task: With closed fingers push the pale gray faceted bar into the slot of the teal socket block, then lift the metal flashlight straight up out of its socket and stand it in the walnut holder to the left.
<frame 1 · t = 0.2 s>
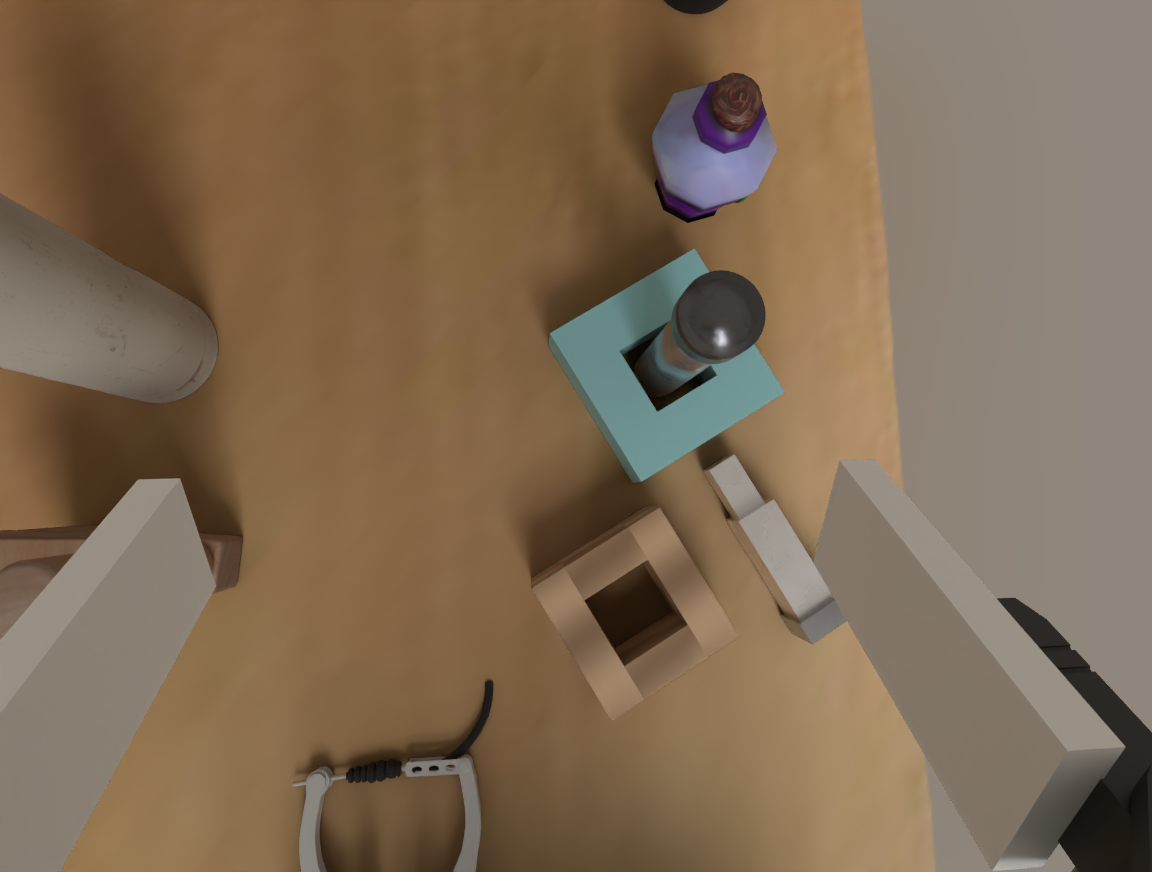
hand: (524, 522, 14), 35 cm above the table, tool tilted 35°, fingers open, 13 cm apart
bike brake: (398, 829, 47), on the table
pale gray faceted bar: (771, 543, 48), point 2 cm above the table, slide at 0.0 cm
potion bottle: (689, 188, 52), on the table
socket block: (657, 373, 50), on the table
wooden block: (164, 555, 47), on the table
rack: (625, 600, 49), on the table
metal flashlight: (683, 349, 42), in the socket block
thermos bottle: (162, 349, 48), on the table
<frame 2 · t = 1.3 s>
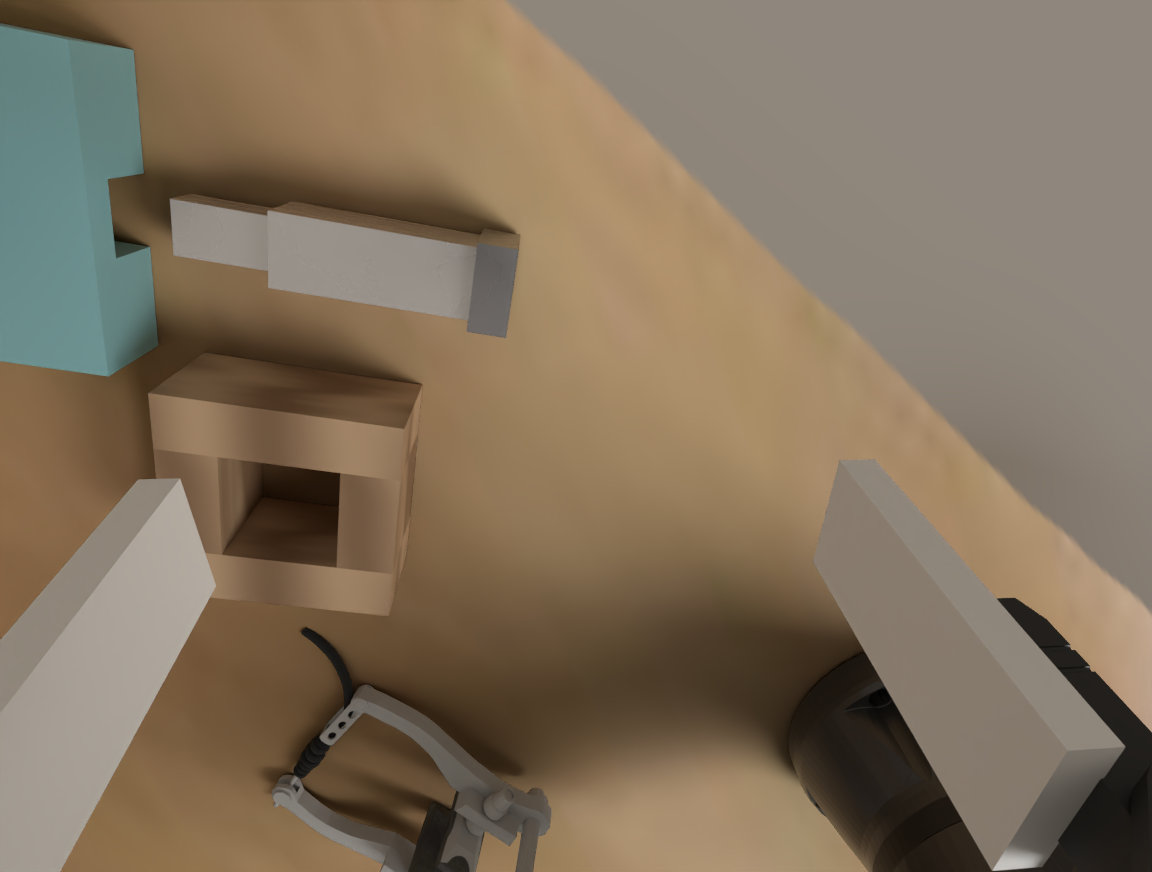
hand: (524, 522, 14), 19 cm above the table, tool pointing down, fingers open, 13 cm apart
bike brake: (389, 756, 44), on the table
pale gray faceted bar: (349, 256, 27), point 2 cm above the table, slide at 0.0 cm
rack: (313, 461, 34), on the table
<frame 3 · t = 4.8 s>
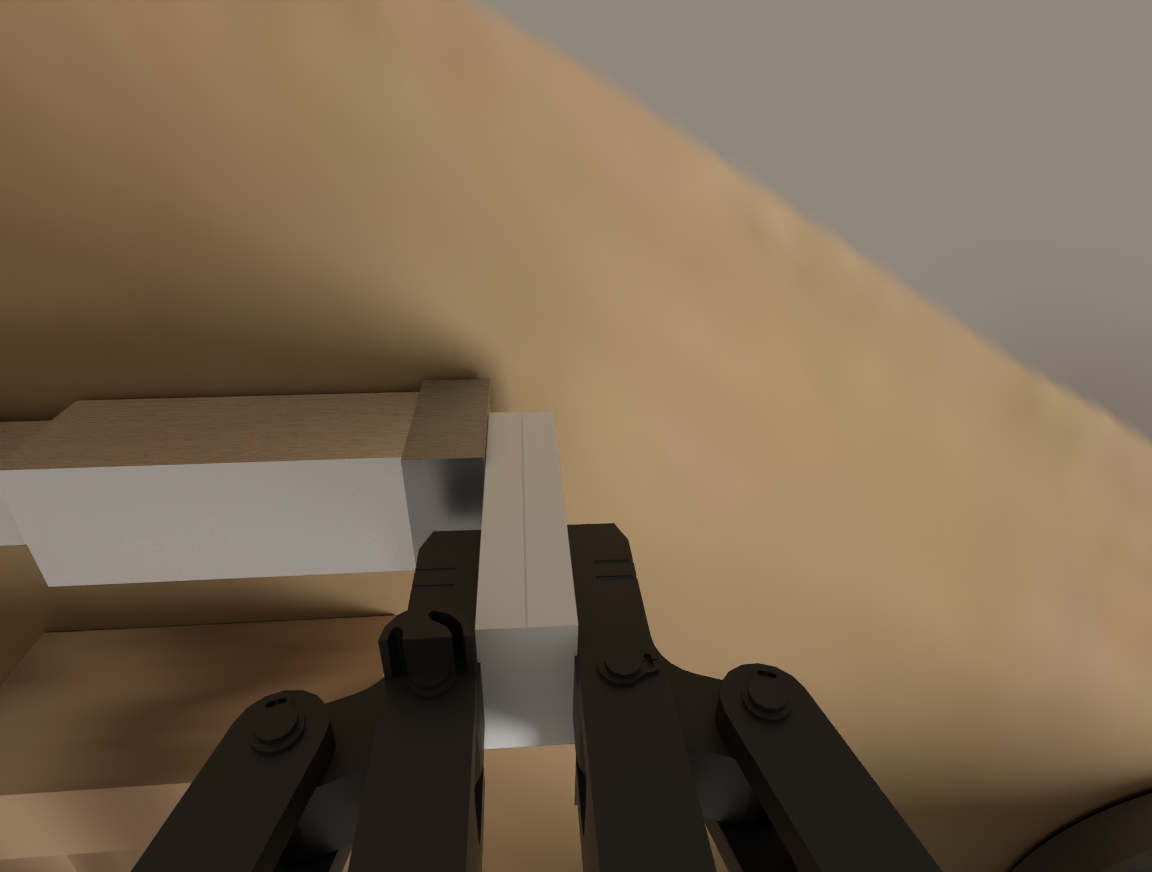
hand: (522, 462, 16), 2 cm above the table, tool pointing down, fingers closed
pale gray faceted bar: (186, 493, 15), point 2 cm above the table, slide at 0.4 cm, touching gripper
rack: (260, 733, 22), on the table
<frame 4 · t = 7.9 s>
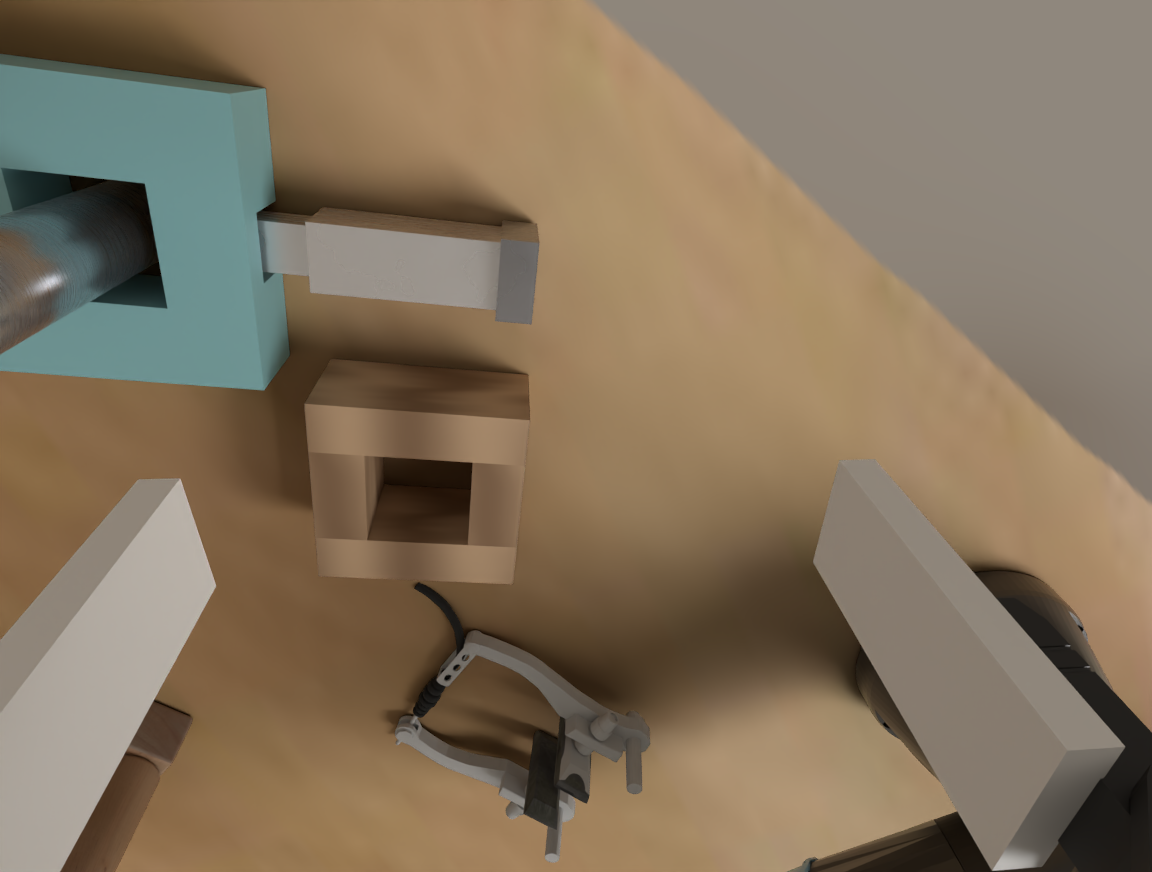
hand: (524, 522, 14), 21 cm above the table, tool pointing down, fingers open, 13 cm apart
bike brake: (495, 693, 48), on the table
pale gray faceted bar: (380, 257, 30), point 2 cm above the table, slide at 3.9 cm
socket block: (138, 220, 30), on the table
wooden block: (135, 743, 47), on the table
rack: (429, 449, 37), on the table
metal flashlight: (15, 275, 23), in the socket block
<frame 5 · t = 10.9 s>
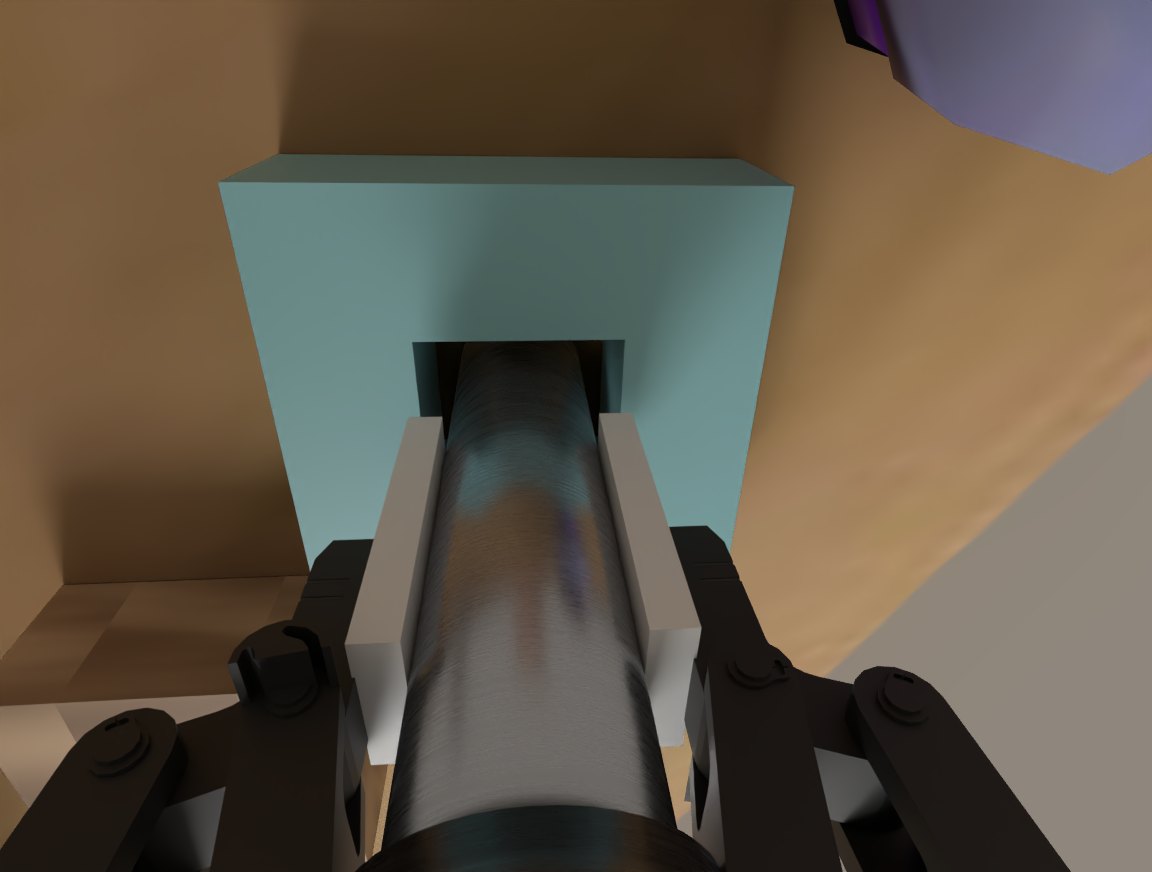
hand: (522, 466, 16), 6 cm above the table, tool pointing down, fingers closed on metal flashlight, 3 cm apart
socket block: (520, 367, 20), on the table
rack: (245, 675, 26), on the table
metal flashlight: (524, 546, 13), in the socket block, touching gripper
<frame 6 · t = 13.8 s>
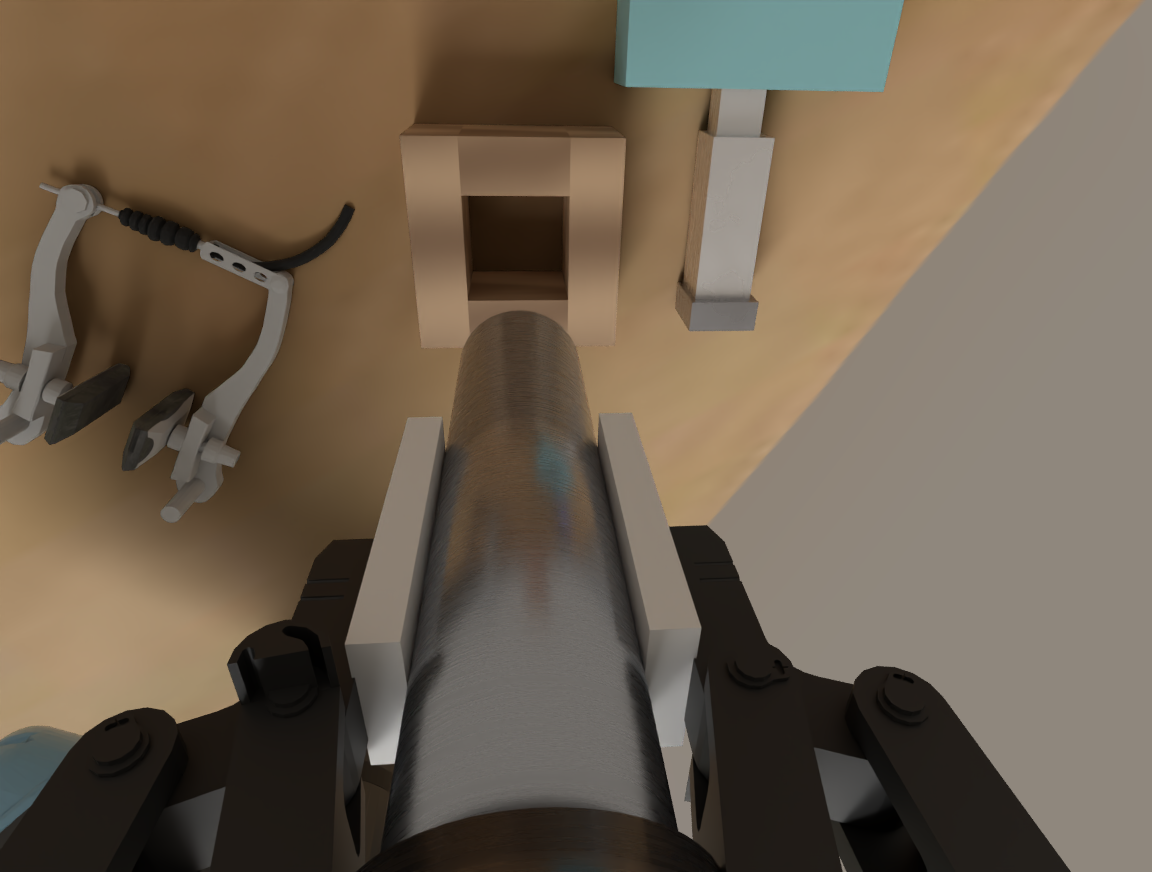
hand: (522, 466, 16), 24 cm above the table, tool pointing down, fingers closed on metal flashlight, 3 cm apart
bike brake: (176, 307, 38), on the table
pale gray faceted bar: (729, 193, 34), point 2 cm above the table, slide at 3.9 cm
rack: (516, 225, 36), on the table
metal flashlight: (524, 547, 13), point 27 cm above the table, touching gripper
when the fingers open (7 cm above the table, at t = 17.1 s): metal flashlight stays where it is, resting in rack.
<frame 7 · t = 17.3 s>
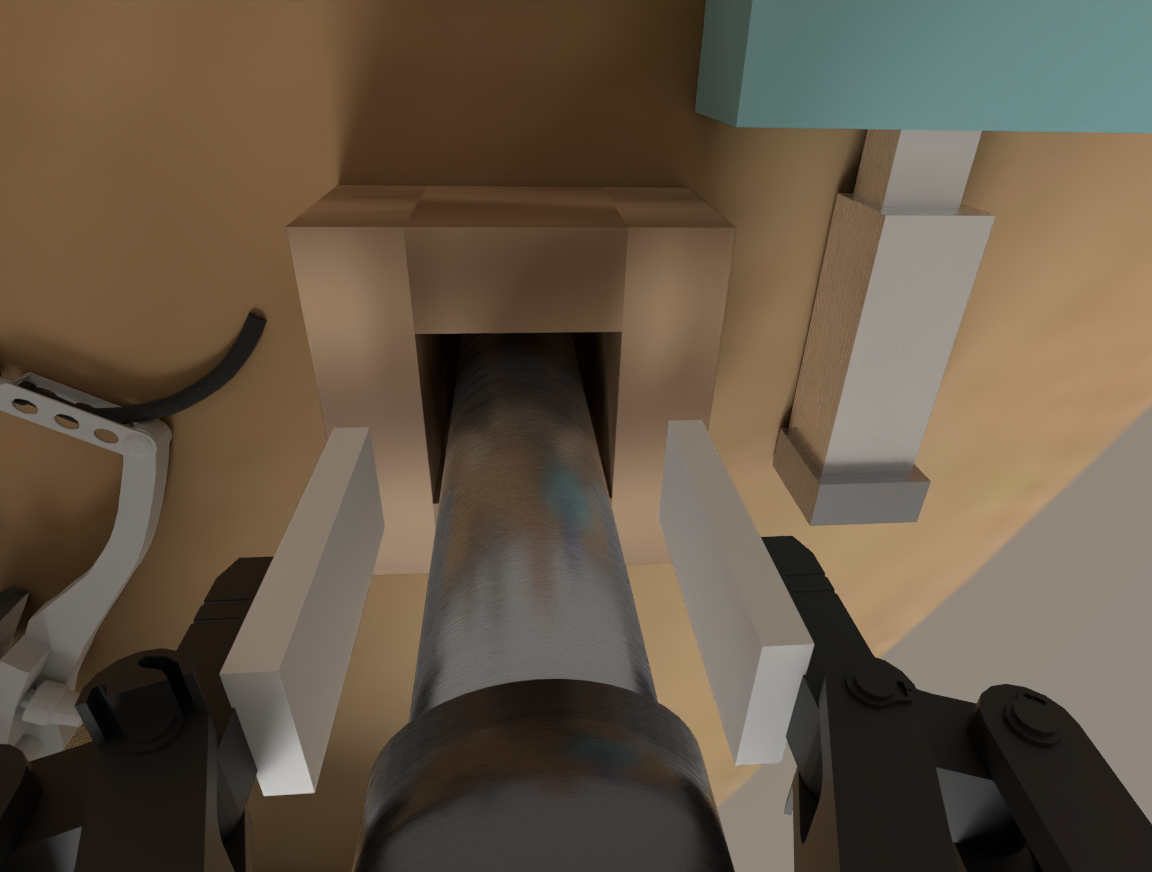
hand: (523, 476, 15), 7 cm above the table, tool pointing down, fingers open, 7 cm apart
pale gray faceted bar: (890, 303, 20), point 2 cm above the table, slide at 3.9 cm
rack: (519, 347, 22), on the table
metal flashlight: (524, 502, 14), in the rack
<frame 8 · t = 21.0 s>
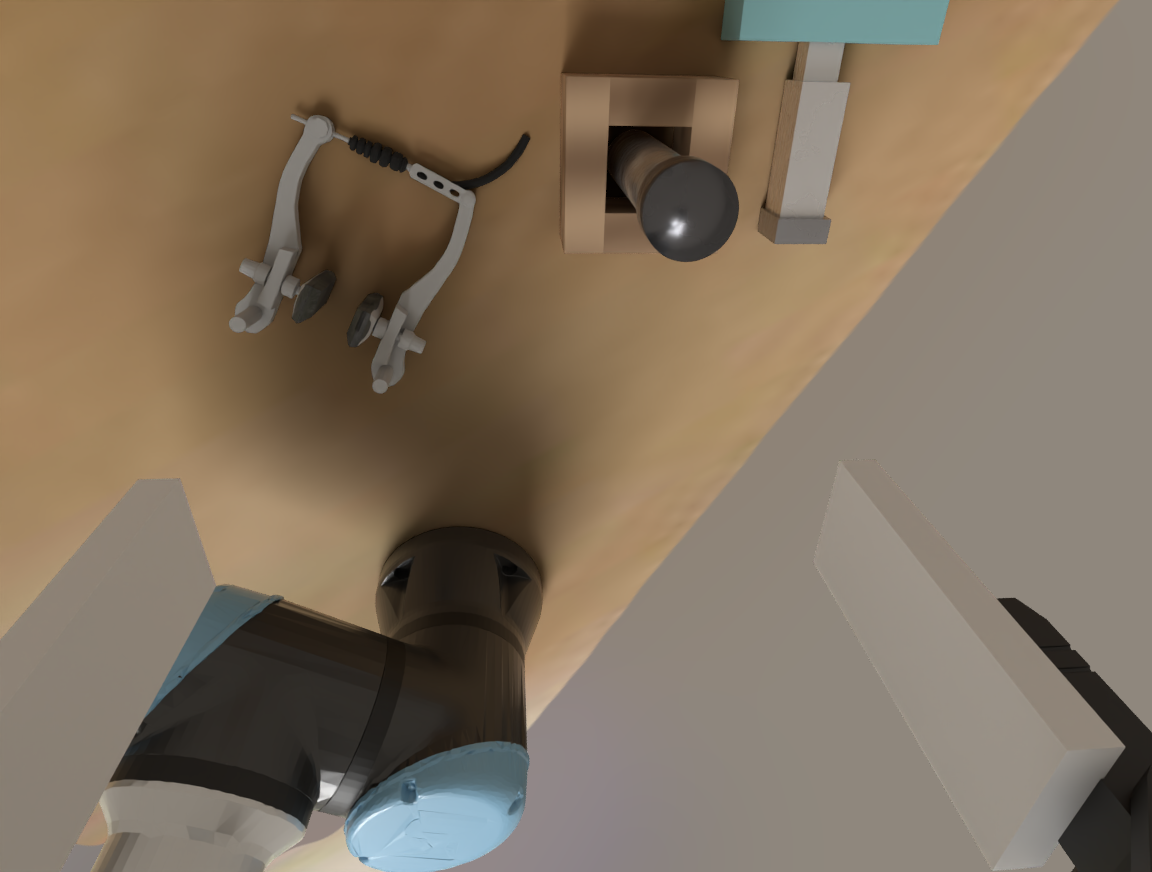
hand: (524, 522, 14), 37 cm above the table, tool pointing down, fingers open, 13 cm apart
bike brake: (376, 222, 46), on the table
pale gray faceted bar: (810, 130, 43), point 2 cm above the table, slide at 3.9 cm
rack: (634, 159, 45), on the table
metal flashlight: (656, 180, 38), in the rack
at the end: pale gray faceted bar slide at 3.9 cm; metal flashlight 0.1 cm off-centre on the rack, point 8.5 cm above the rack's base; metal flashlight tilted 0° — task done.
